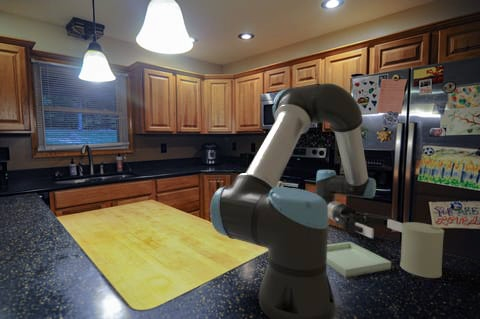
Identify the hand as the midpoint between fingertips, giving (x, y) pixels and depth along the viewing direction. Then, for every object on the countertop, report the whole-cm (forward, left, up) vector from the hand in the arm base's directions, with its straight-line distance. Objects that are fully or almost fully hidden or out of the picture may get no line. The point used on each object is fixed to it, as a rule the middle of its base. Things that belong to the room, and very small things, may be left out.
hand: (390, 231), depth 77 cm
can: (0, -10, -7) cm, 12 cm away
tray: (-15, 0, -7) cm, 17 cm away
